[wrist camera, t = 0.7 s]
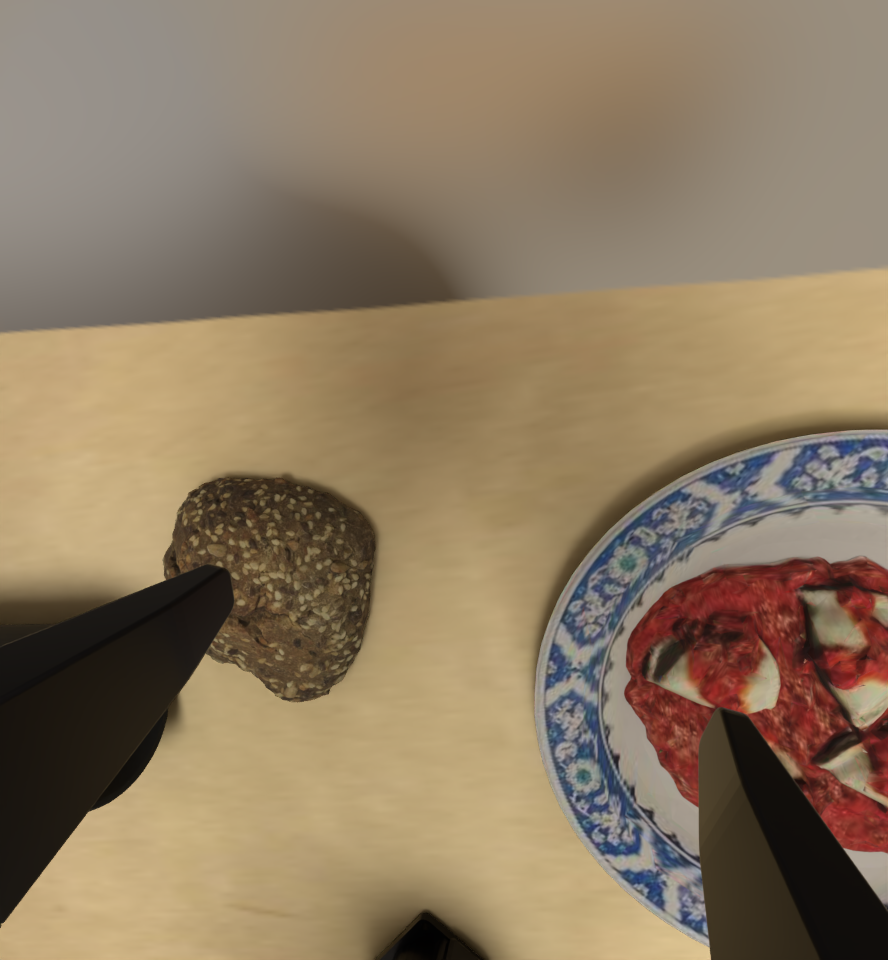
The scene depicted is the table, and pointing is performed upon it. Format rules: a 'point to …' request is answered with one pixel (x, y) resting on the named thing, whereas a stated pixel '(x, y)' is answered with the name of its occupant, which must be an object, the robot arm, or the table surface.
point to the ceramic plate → (725, 659)
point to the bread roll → (281, 578)
